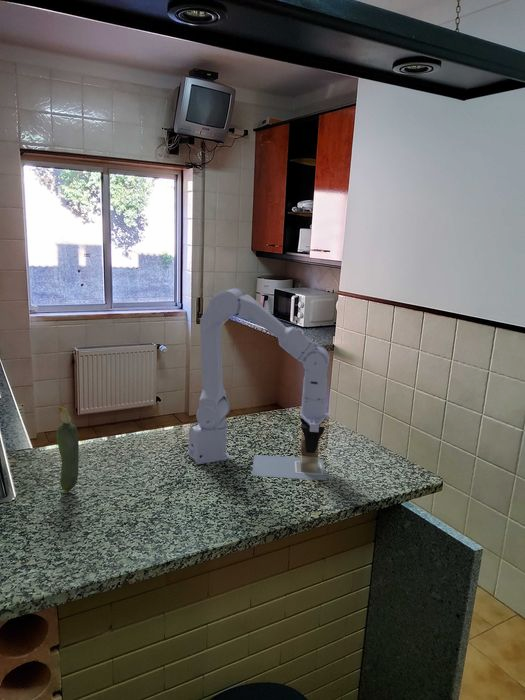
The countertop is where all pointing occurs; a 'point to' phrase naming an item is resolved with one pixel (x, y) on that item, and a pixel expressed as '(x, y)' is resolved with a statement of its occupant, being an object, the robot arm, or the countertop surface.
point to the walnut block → (303, 448)
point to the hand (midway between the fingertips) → (310, 448)
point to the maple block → (309, 463)
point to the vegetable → (68, 450)
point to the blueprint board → (285, 468)
